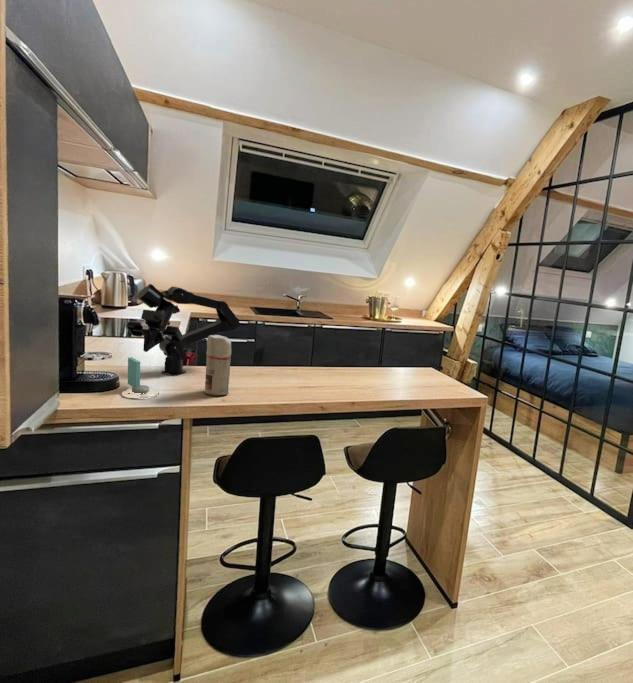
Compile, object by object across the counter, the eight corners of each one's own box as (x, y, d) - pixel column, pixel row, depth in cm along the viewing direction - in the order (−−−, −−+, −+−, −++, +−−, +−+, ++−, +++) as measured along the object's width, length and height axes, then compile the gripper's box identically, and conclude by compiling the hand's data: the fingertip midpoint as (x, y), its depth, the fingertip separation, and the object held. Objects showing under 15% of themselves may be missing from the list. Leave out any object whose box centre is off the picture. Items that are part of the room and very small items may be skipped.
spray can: (202, 389, 139) (205, 332, 135) (226, 388, 142) (230, 333, 138) (205, 397, 131) (208, 337, 128) (230, 396, 134) (234, 338, 131)
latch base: (134, 386, 135) (134, 384, 135) (165, 390, 133) (165, 389, 133) (114, 396, 124) (114, 394, 124) (147, 401, 123) (147, 399, 123)
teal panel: (151, 391, 129) (152, 364, 127) (136, 394, 125) (136, 366, 123) (137, 382, 136) (137, 356, 134) (121, 384, 132) (122, 358, 131)
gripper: (129, 298, 140) (108, 334, 131) (179, 304, 137) (162, 341, 129) (141, 317, 149) (123, 352, 140) (189, 323, 147) (173, 359, 138)
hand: (144, 351), depth 136 cm, fingers closed
